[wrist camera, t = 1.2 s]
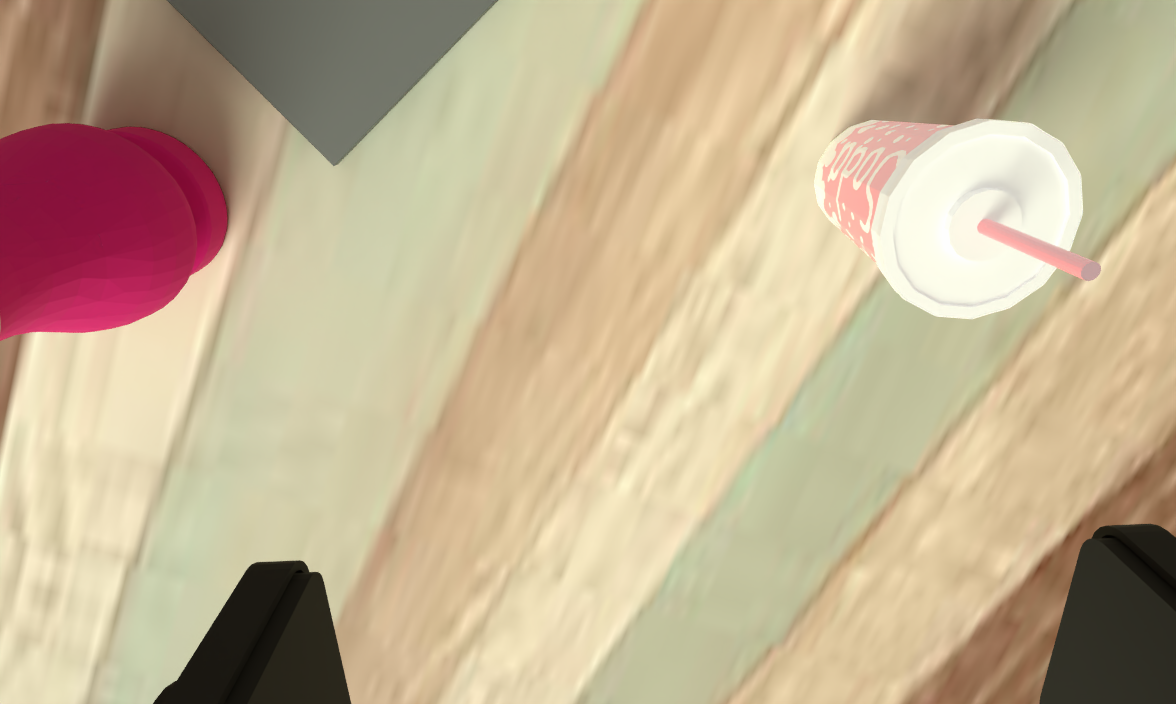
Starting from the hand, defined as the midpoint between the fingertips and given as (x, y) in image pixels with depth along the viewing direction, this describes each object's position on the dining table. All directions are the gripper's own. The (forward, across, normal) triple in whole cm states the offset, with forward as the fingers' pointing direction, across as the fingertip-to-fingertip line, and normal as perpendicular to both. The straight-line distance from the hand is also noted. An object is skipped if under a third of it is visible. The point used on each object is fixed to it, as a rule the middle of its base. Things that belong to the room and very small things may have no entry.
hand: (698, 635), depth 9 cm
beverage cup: (+24, -11, -1) cm, 26 cm away
